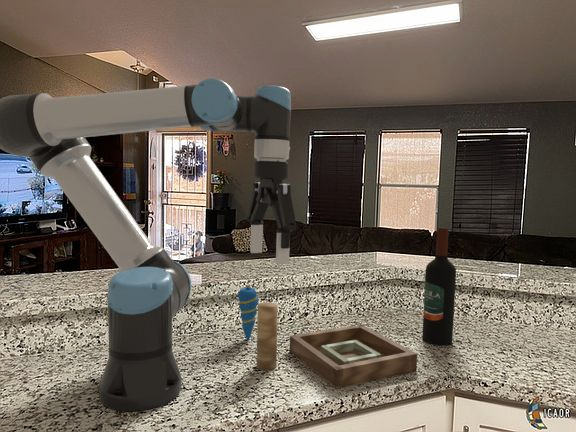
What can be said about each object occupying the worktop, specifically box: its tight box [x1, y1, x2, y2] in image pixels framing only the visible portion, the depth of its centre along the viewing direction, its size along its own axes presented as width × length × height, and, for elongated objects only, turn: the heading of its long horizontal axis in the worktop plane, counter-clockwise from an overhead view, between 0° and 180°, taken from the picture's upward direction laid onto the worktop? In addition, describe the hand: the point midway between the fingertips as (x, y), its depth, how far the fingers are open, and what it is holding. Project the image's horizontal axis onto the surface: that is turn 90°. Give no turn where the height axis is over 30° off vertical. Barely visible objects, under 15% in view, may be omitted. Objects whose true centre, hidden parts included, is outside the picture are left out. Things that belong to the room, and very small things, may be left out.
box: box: [289, 324, 418, 390], centre depth 104 cm, size 21×21×4 cm
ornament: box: [237, 284, 259, 341], centre depth 115 cm, size 5×5×15 cm
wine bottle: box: [421, 226, 457, 347], centre depth 117 cm, size 8×8×30 cm
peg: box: [256, 301, 279, 372], centre depth 99 cm, size 4×4×14 cm
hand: (268, 258), depth 98 cm, fingers open, 13 cm apart
